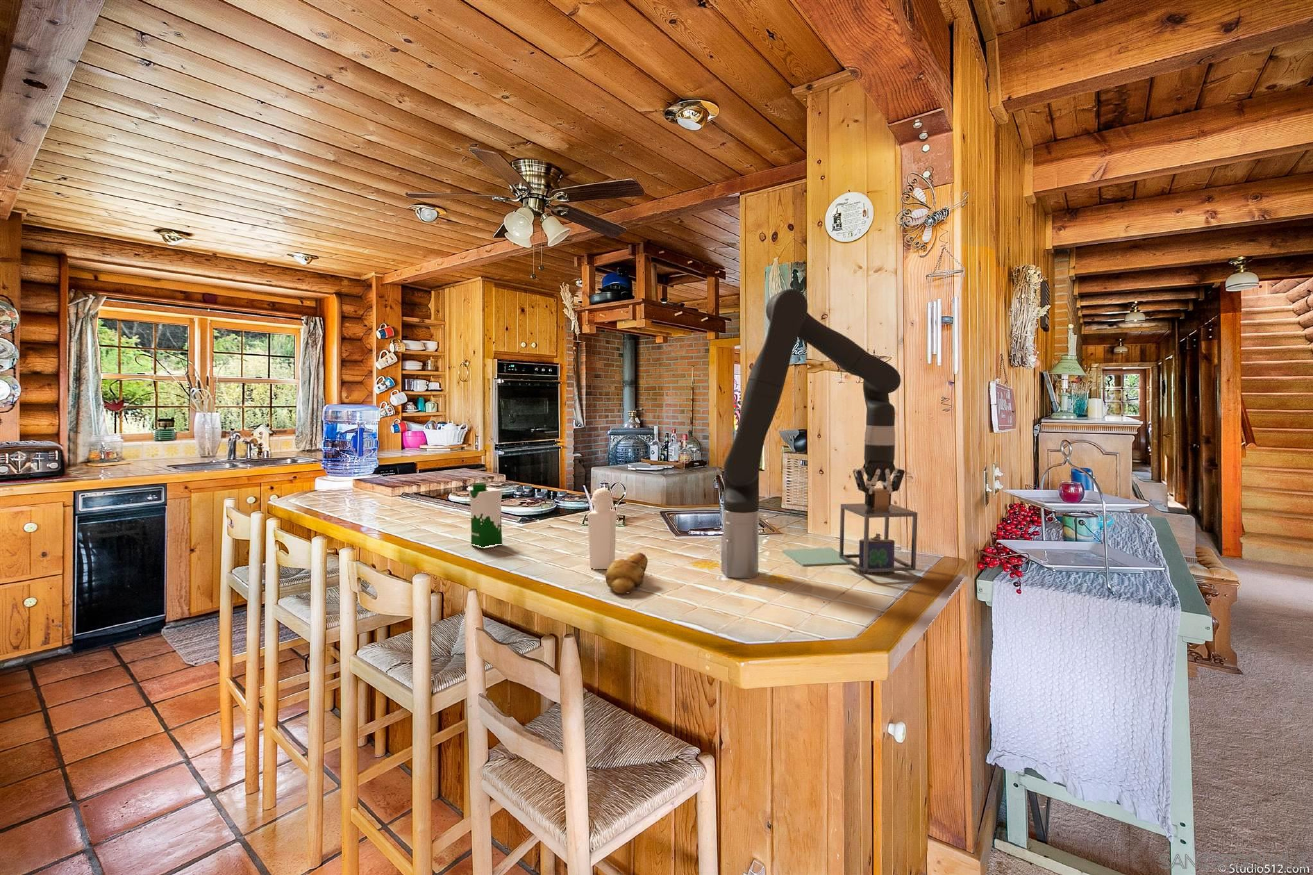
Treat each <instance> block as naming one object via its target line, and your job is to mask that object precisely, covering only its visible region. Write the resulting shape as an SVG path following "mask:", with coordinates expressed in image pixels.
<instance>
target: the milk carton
mask: <svg viewBox="0 0 1313 875" xmlns="http://www.w3.org/2000/svg"><path fill="white" fill-rule="evenodd" d="M468 495H469V503H470V526H471V527H470V528H471V529H470V530H471V532H470V540H471V541H470V545H471V544H475V545H479V546H481V547H485V546H489V545H495V544H502V545H503V533H502V532H503V531H502V496H503V489H500V488H494V487H487V483H485V482H478V483H477V482H476V483H473V484H472V489H468Z"/></svg>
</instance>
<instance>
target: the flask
mask: <svg viewBox="0 0 1313 875" xmlns="http://www.w3.org/2000/svg"><path fill="white" fill-rule="evenodd" d="M858 542H859V544H858V545H859V546H858V548H859V551H858V554H859V558H858V560H859V561H858V564H859V565H861V566H863V554H864V538H862V539H859V541H858ZM895 544H896V543H895V540H893V539H890V538H888V539H885V540H884V538H883V539H882V535H881V534H880V533H875V536H874V537H869V538H868V568H886V567H895V561H894V557H895V546H896V545H895ZM858 572H860V573H859V574H863V575H894V573H895V571H887V572H863V571H861V570H859V569H858Z"/></svg>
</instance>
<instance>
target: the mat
mask: <svg viewBox="0 0 1313 875" xmlns="http://www.w3.org/2000/svg"><path fill="white" fill-rule="evenodd" d="M781 552H782V553H783V552H784V553H783V554H784V555H786V556H788V557H789V558H791V559H792V560H793V561H794V562H796V561H797V562H796V563H797V564H799V565H801V566H802V567H811V566H812V567H814V566H816V567H817V566H834V565H850V564H849V563H848V562H846V561H844V560H842V559H841V558H839V551H838V550H837V549H834V548H833V547H822V548H821V547H819V548H814V547H813V548H795V549H794V548H793V549H792V548H791V549H782V550H781ZM843 555H845V553H844V554H843ZM849 559H851V560H852V561H854V562H856V563H858V562H857V561H856V560H854V559H853V558H849Z"/></svg>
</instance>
